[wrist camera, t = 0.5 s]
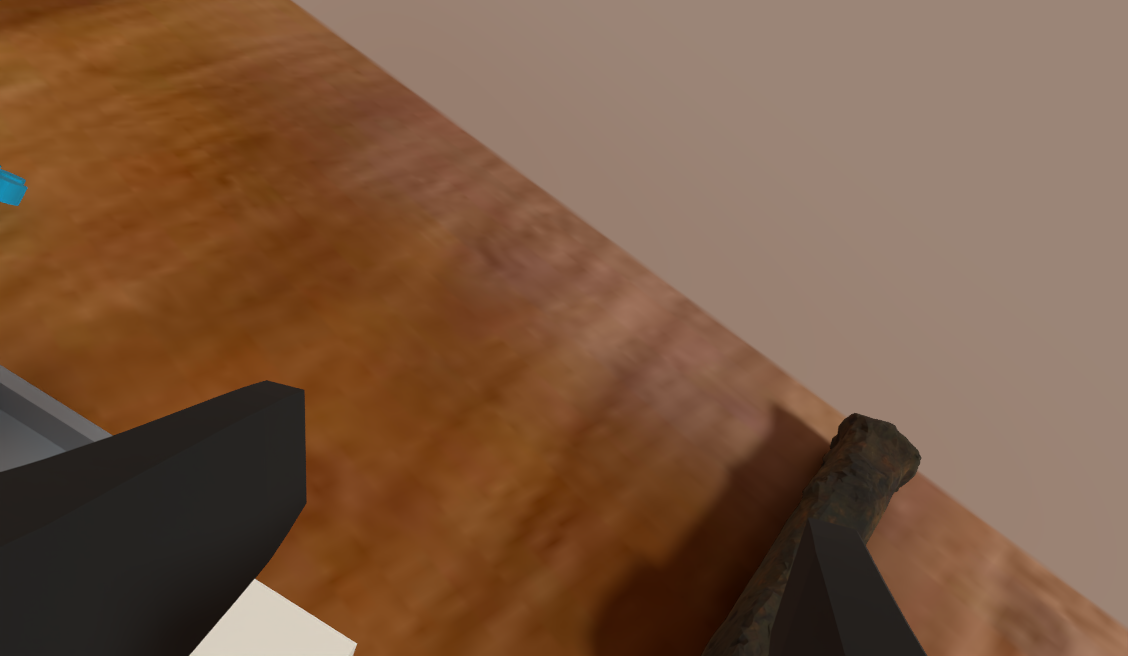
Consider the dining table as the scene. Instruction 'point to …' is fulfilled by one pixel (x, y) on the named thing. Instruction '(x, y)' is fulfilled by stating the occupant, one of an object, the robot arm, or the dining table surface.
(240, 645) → the white mallet
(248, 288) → the dining table surface
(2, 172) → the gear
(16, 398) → the bin
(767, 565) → the hand tool
